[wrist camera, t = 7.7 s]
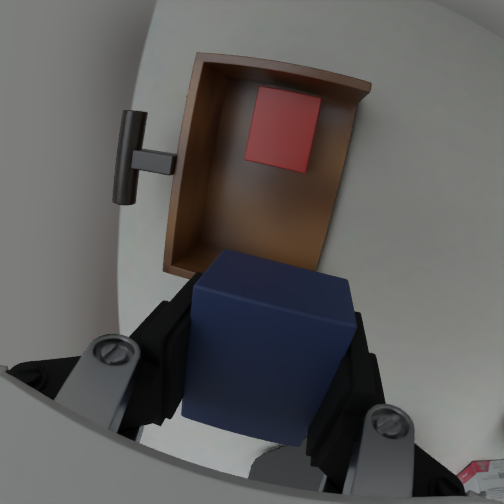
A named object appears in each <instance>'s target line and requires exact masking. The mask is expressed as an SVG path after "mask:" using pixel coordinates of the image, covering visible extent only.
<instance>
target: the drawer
mask: <svg viewBox="0 0 504 504" xmlns="http://www.w3.org/2000/svg"><path fill="white" fill-rule="evenodd" d="M371 85H372V83H370V82H367V81H363V80H360V79H356V78H353V77H349V76H345V75H341V74H337V73H333V72H329V71H325V70H320V69H316V68H311V67H306V66H301V65H296V64H291V63H285V62H279V61H273V60H266V59H259V58H252V57H244V56H235V55H225V54H214V53H199V52H197V53H196V58H195V62H194V67H193V71H192V76H191V81H190V85H189V90H188V95H187V100H186V105H185V111H184V116H183V121H182V127H181V133H180V138H179V144H178V150H177V154H173V153H167V152H160V151H154V150H147V149H142V146H143V139H144V133H145V126H146V120H147V114H148V113H147V112H142V111H132V110H124V111H123V115H122V121H121V127H120V134H119V142H118V149H117V158H116V166H115V176H114V188H113V199H112V200H113V203H116V204H118V205H133V204H135V203H136V195H137V185H138V177H139V170H143V171H148V172H154V173H159V174H164V175H173V174H174V177H173V184H172V191H171V198H170V206H169V214H168V223H167V232H166V241H165V251H164V262H163V272H166V273H170V274H173V275H177V276H180V277H183V278H187V279H191V278H192V277H193V276H194V274H195V273H196V272H200V273H205V272H206V270H207V269H208V268H209V267H210V266H211V265H212V263H213V262H214V261H215V260H216V259H217V257H218V256H219V255H220V254H221V253H222V252H223V250H226V249H227V250H231V251H235V252H239V253H243V254H247V255H251V256H255V257H259V258H263V259H267V260H271V261H275V262H279V263H283V264H287V265H291V266H295V267H299V268H303V269H307V270H311V271H315V272H316V268H317V265H318V262H319V258H320V255H321V251H322V248H323V244H324V240H325V237H326V233H327V230H328V226H329V222H330V218H331V215H332V211H333V207H334V203H335V199H336V195H337V192H338V188H339V184H340V180H341V175H342V171H343V167H344V163H345V159H346V154H347V150H348V146H349V141H350V137H351V132H352V128H353V123H354V118H355V114H356V109H357V104H358V103H359V102H360V101H361V100H362V99H363V98H364V97H365V96H367V95H368V94H369V93H370V91H371ZM259 86H266V87H271V88H277V89H282V90H288V91H293V92H298V93H302V94H307V95H312V96H316V97H320V98H322V102H321V107H320V112H319V117H318V121H317V126H316V130H315V135H314V140H313V144H312V149H311V153H310V158H309V162H308V166H307V171H306V173H305V174H304V173H300V172H296V171H291V170H287V169H283V168H278V167H274V166H269V165H265V164H260V163H256V162H251V161H246V160H244V157H245V152H246V147H247V142H248V137H249V132H250V127H251V122H252V117H253V112H254V107H255V103H256V98H257V93H258V88H259Z"/></svg>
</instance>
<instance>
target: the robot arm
mask: <svg viewBox="0 0 504 504" xmlns="http://www.w3.org/2000/svg"><path fill="white" fill-rule="evenodd" d="M203 274H204V273H200V272H196V273H195V274H194V276H193V277H192V278H191V279H190V280H189V281H188V282H187V283H186V284H185V286H184V287H183V288H182V289H181V290H180V291H179V292H178V293H177V294H176V296H175V297H174V298H173V299H172V300H171V301H170V302H168V301H162V302H161V303H160V304H159V305H158V306H157V307H156V308H155V309H154V311H153V312H152V313H151V314H150V315H149V316H148V317H147V318H146V319H145V320H144V321H143V322H142V323H141V325H140V326H139V327H138V328H137V329H136V330H135V331H134V332H133V333H132V334H131V335H130V336H129V337H126V336H124V335H118V334H107V335H103V336H100V337H98V338H96V339H94V340H93V341H92V342H91V343H90V344H89V346H88V347H87V349H86V350H85V352H84V353H83V355H82V356H76V357H68V358H59V359H50V360H41V361H30V362H24V363H20V364H18V365H16V366H14V367H13V368H12V369H10V370H8V367H7V366H1V365H0V504H504V502H501V501H497V500H493V499H489V498H486V497H484V496H482V495H480V494H478V493H476V492H473V491H471V490H469V491H467V492H465V489H464V485H463V484H462V482H461V480H460V479H459V478H458V477H457V476H456V475H454V474H453V473H452V472H451V471H449V470H448V469H447V468H445V467H444V466H443V465H441V464H440V463H439V462H438V461H436V460H435V459H434V458H432V457H431V456H430V455H429V454H427V453H426V452H425V451H424V450H422V449H421V448H420V447H419V446H417V445H416V444H415V443H414V424H413V422H412V420H411V418H410V417H409V415H408V414H407V413H406V412H404V411H403V410H401V409H400V408H398V407H396V406H393V405H389V404H385V398H384V393H383V388H382V383H381V377H380V373H379V368H378V363H377V358H376V355H375V354H373V353H369V351H368V346H367V341H366V336H365V331H364V326H363V321H362V317H361V313H360V312H355V311H354V312H355V318H356V323H357V329H356V331H355V333H354V336H353V338H352V341H351V343H350V345H349V348H348V350H347V352H346V355H345V357H342V360H341V362H340V364H339V366H338V369H337V371H336V373H335V375H334V377H333V380H332V382H331V384H330V386H329V388H328V390H327V392H326V394H325V397H324V399H323V401H322V403H321V405H320V407H319V409H318V411H317V413H316V415H315V417H314V419H313V421H312V423H311V424H310V426H309V428H308V434H307V444H306V456H311V462H310V466H312V467H319V469H320V470H321V471H322V472H323V473H324V476H323V478H322V481H321V484H320V487H319V490H318V492H317V491H310V490H303V489H297V488H291V487H285V486H280V485H274V484H269V483H265V482H260V481H255V480H251V479H247V478H243V477H239V476H235V475H231V474H227V473H224V472H220V471H217V470H213V469H210V468H206V467H203V466H200V465H197V464H194V463H191V462H188V461H185V460H182V459H179V458H176V457H173V456H171V455H168V454H165V453H162V452H160V451H157V450H155V449H152V448H150V447H147V446H145V445H142V444H140V443H139V442H140V439H141V436H142V432H143V429H144V425H148V424H152V423H154V424H156V425H159V426H161V425H162V423H163V422H164V420H165V418H168V419H171V418H172V417H173V415H174V413H175V411H176V409H177V408H178V406H179V404H180V402H181V400H182V398H183V396H184V384H185V372H186V361H187V351H188V341H189V331H190V322H191V318H190V312H191V304H192V295H193V287H194V285H195V283H196V282H197V281H198V280H199V279H200V277H201V276H202V275H203Z"/></svg>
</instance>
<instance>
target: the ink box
mask: <svg viewBox="0 0 504 504" xmlns="http://www.w3.org/2000/svg"><path fill="white" fill-rule="evenodd" d="M457 477H458V478H459V479H460V480H461V482H462V484H463V485H464V489H465V492H467V491H469V490H471V491H473V492H476V493H478V494H480V495H482V496H484V497H486V498H489V499H493V500H497V501H501V502H504V460H494V461H473V462H472V463H471V464H470V465H469V466H468V467H467V468H466V469H464V470H463V471H462V472H461V473H460V474H459V475H458V476H457Z"/></svg>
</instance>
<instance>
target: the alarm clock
mask: <svg viewBox="0 0 504 504" xmlns="http://www.w3.org/2000/svg"><path fill="white" fill-rule="evenodd" d="M306 444H307V438H306V439H304V440H303V442H302V444H301V446H300V447H294V446H289V445H288V446H285V447H282V448H279V449H277V450H274V451H271V452H268V453H265V454H262V455H261V456H259V457H258V458H256V459H255V461H254V463H253V464H252V466H251V470H250V473H249V477H248V479H251V480H255V481H260V482H265V483H269V484H274V485H280V486H285V487H291V488H297V489H303V490H310V491H317V492H318V490H319V487H320V484H321V481H322V478H323V476H324V473H323V472H322V471H321V470H320V469H319V467H312V466H310V462H311V456H306Z"/></svg>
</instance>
